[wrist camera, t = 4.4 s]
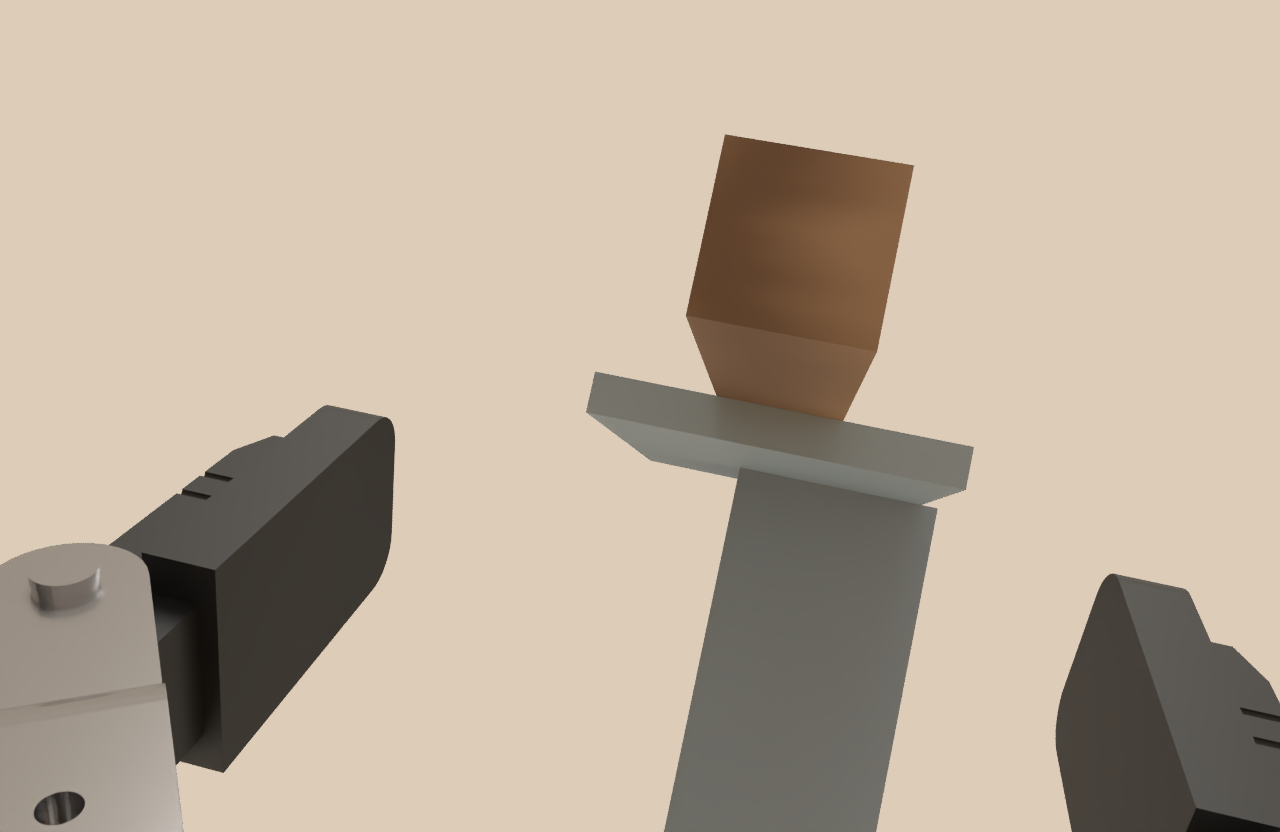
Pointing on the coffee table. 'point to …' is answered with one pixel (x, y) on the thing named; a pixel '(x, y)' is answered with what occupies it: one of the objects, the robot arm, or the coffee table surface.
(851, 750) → the slate stand
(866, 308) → the walnut bar
